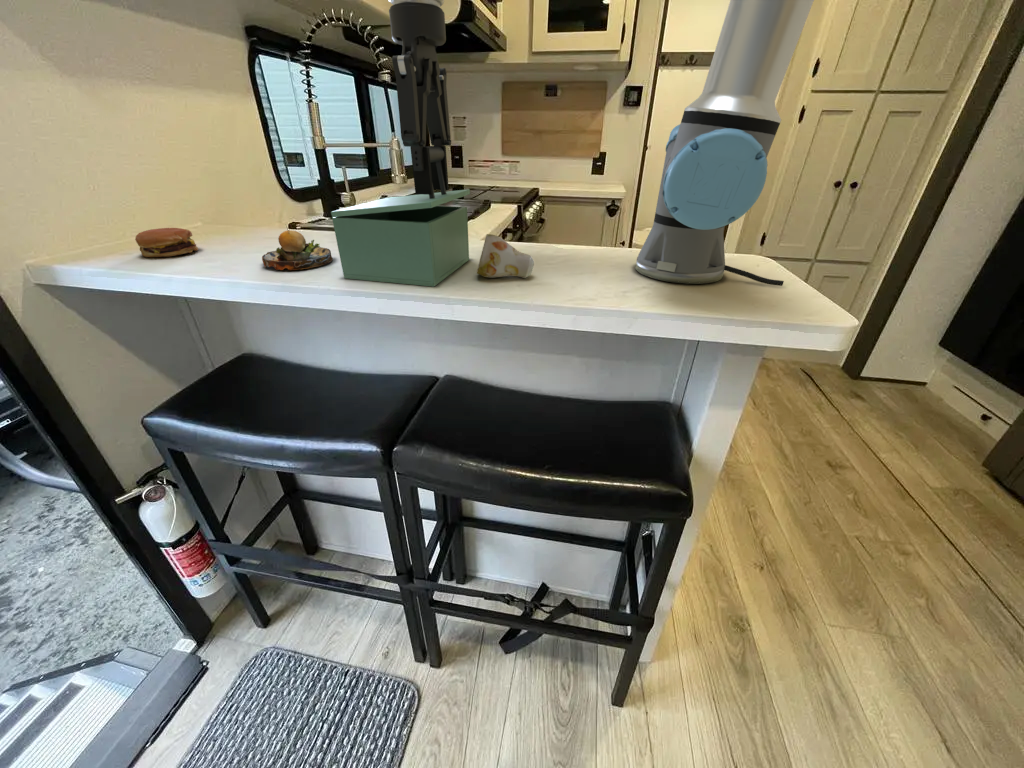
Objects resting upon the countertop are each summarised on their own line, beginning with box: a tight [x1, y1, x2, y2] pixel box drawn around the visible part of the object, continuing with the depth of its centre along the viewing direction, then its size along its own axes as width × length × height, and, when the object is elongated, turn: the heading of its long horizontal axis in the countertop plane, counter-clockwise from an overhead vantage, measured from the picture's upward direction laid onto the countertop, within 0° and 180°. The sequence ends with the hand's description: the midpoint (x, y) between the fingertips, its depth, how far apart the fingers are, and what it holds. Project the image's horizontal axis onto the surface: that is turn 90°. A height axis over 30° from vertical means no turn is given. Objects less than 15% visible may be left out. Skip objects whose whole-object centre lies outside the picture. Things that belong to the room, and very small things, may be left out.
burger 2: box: [261, 224, 334, 271], centre depth 77 cm, size 12×12×8 cm
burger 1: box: [134, 227, 199, 258], centre depth 82 cm, size 10×9×5 cm
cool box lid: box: [330, 145, 471, 218], centre depth 69 cm, size 17×18×8 cm
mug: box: [476, 233, 535, 279], centre depth 71 cm, size 8×10×10 cm
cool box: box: [331, 205, 470, 287], centre depth 74 cm, size 17×18×10 cm
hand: (432, 191), depth 68 cm, fingers closed on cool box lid, 6 cm apart
